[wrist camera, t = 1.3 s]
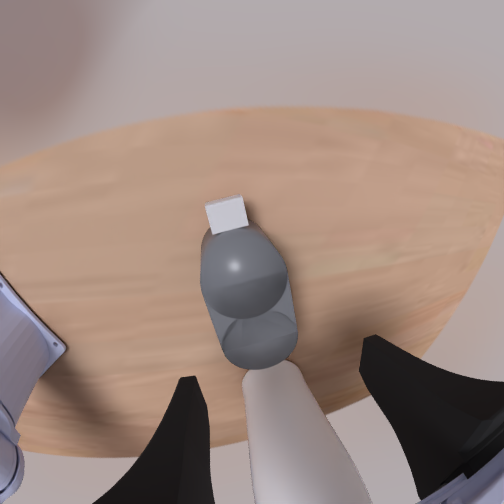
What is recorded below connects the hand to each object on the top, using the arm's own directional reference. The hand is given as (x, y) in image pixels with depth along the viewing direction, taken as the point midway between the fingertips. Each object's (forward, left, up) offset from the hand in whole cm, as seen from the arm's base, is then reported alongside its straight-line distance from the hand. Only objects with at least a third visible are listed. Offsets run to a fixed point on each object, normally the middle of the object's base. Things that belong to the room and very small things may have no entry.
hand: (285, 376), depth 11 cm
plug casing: (-1, 0, -10) cm, 10 cm away
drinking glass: (+9, -5, -10) cm, 14 cm away
